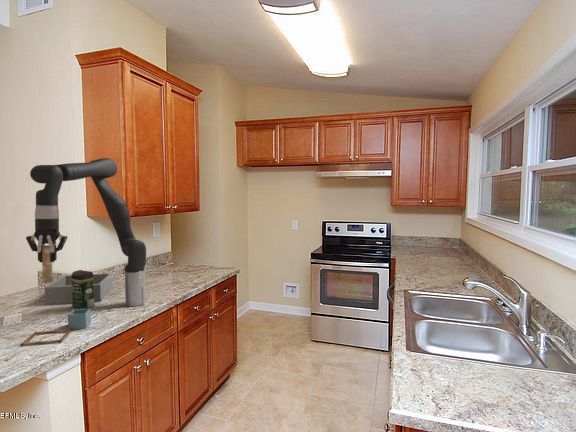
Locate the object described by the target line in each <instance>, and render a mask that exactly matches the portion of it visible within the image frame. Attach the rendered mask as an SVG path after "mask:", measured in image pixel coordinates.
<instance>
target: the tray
mask: <svg viewBox="0 0 576 432" xmlns="http://www.w3.org/2000/svg"><path fill="white" fill-rule="evenodd" d="M72 331H73V330H72V329H68V328H67V329H57V330H56V329H55V330H54V329H53V330H43V331H42V330H41V331H35V332H33V333H32V334H31V335H30V336H29V337H27V338H26V339H25V340H23V341H22V342H21V343H20V347H27V346H36V345H37V346H38V345H39V346H40V345H49V344H50V345H51V344H60V343H62V342H63V341H64V340H65V339H66V338H68V336H69V335H70V334H71V332H72ZM62 333H64V334H63V335H62V336H61V337H60V339H51V340H41V341H31V340H32V339H33V338H35V337H36V336H39V335H49V334H51V335H53V334H62Z"/></svg>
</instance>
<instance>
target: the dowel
mask: <svg viewBox="0 0 576 432" xmlns="http://www.w3.org/2000/svg"><path fill="white" fill-rule="evenodd" d="M51 253H52V252H51V249H50V247H49V244H47V245H46V244H45V246H42V262H41V264H42V265H41V268H42V269H41V271H42V272H41V273H42V274H41V275H42V276H41V278H42V279H41V281H42V284H47V283H53V262H51Z"/></svg>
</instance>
